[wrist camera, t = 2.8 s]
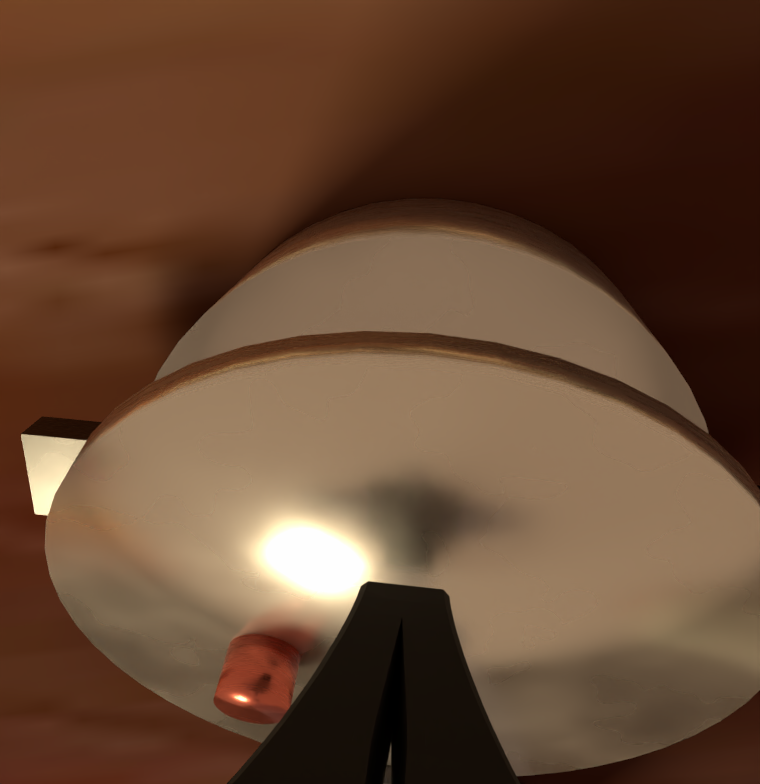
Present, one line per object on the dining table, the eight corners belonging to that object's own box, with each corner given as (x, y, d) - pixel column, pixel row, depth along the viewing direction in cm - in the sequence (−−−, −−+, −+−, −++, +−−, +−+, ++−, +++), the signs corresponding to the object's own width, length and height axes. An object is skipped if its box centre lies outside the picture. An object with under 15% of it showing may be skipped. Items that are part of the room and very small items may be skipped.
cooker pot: (694, 660, 24) (749, 795, 20) (129, 596, 25) (58, 708, 21) (833, 226, 18) (961, 277, 13) (79, 171, 19) (-36, 200, 15)
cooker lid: (650, 781, 20) (664, 863, 18) (147, 717, 21) (121, 791, 19) (962, 378, 10) (1049, 492, 8) (-55, 291, 11) (-142, 378, 9)
